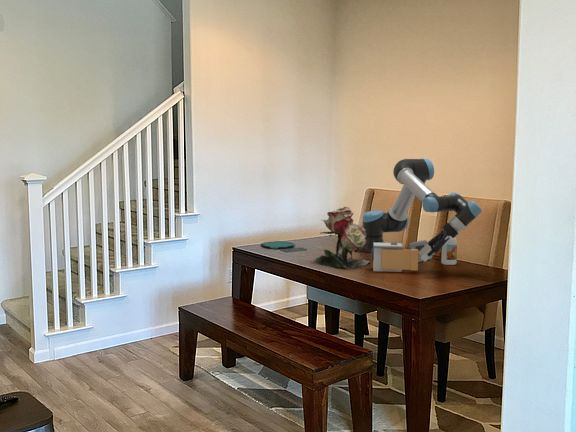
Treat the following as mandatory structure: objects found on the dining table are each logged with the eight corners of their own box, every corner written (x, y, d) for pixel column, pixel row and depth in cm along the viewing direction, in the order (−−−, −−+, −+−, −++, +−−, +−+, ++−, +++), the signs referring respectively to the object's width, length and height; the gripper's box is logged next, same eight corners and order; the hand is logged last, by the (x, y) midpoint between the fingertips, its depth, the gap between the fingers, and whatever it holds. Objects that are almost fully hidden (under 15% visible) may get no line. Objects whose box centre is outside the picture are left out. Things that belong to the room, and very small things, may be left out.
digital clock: (414, 263, 319) (414, 244, 318) (402, 261, 327) (403, 241, 325) (436, 260, 328) (436, 241, 326) (424, 258, 335) (425, 239, 334)
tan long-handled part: (417, 269, 298) (417, 249, 297) (417, 270, 295) (418, 250, 294) (381, 268, 300) (381, 248, 299) (381, 269, 297) (382, 249, 296)
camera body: (400, 268, 308) (401, 241, 306) (402, 272, 297) (402, 244, 296) (371, 267, 310) (371, 240, 308) (371, 271, 299) (372, 244, 297)
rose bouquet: (354, 271, 301) (354, 211, 298) (309, 263, 321) (309, 207, 317) (382, 263, 320) (383, 207, 316) (338, 256, 340) (339, 203, 336)
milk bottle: (440, 264, 317) (441, 227, 314) (442, 262, 324) (443, 225, 321) (455, 265, 314) (457, 227, 311) (456, 263, 321) (458, 225, 319)
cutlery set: (283, 243, 384) (283, 239, 384) (310, 251, 359) (310, 247, 359) (256, 246, 373) (256, 242, 373) (281, 254, 348) (281, 250, 348)
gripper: (463, 236, 279) (429, 267, 283) (454, 229, 304) (423, 257, 307) (452, 225, 279) (418, 256, 283) (444, 218, 304) (413, 247, 307)
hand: (421, 257), depth 295 cm, fingers open, 13 cm apart
